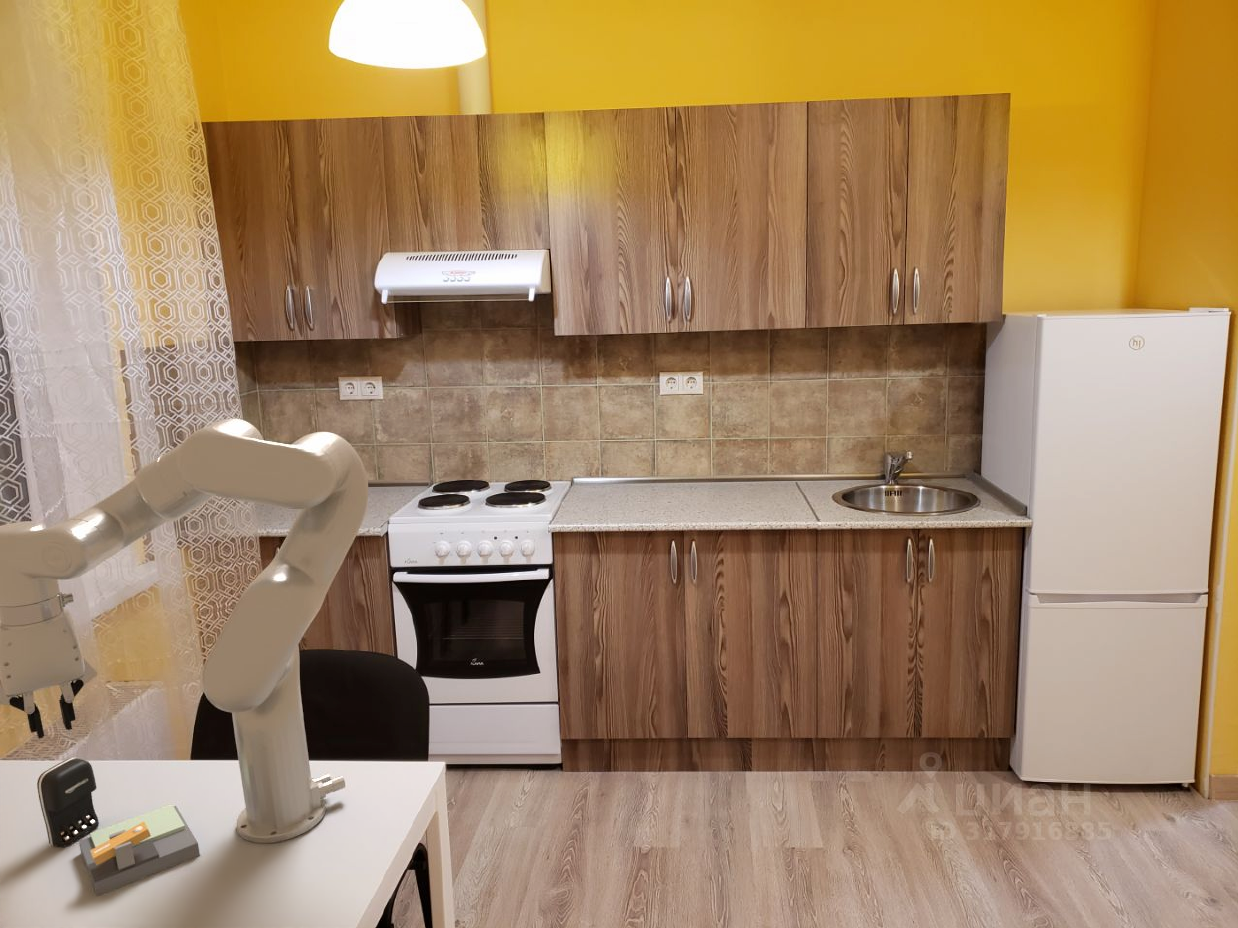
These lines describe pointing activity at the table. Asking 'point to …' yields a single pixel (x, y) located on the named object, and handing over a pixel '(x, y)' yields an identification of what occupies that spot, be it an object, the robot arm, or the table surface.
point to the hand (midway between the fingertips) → (54, 729)
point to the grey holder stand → (140, 849)
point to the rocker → (120, 842)
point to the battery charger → (68, 801)
